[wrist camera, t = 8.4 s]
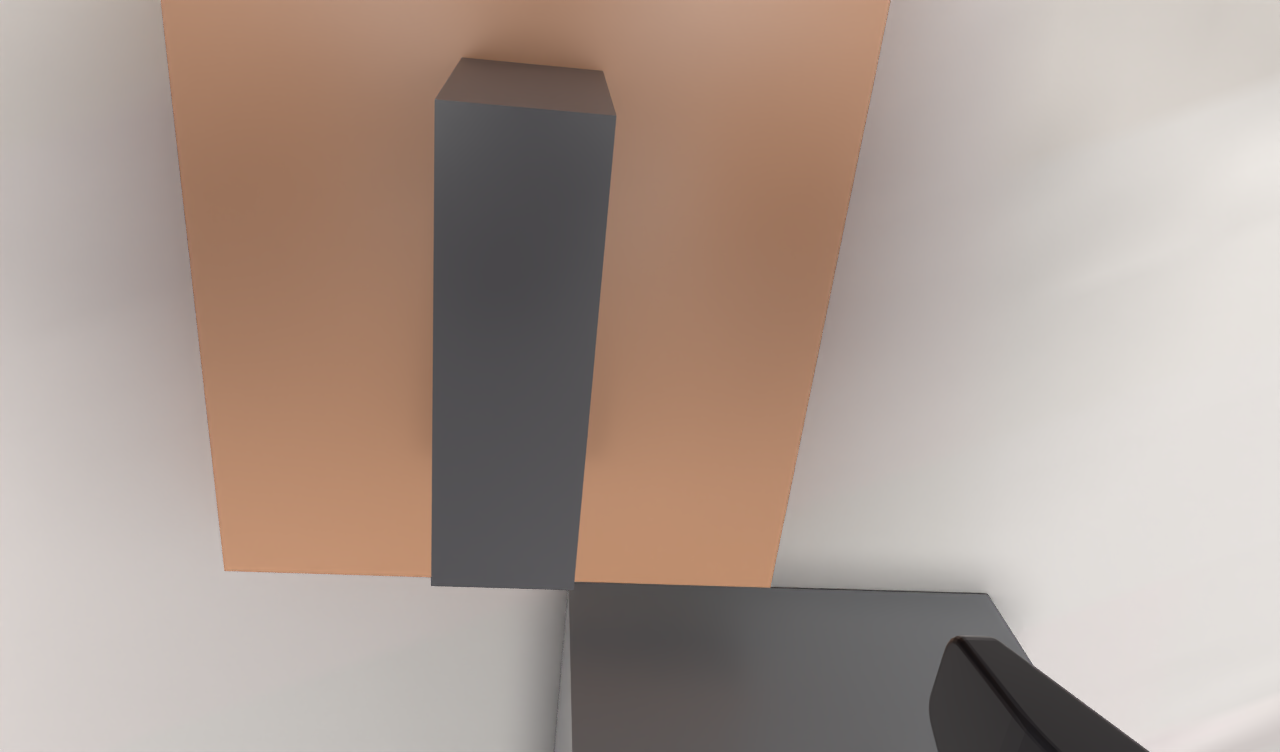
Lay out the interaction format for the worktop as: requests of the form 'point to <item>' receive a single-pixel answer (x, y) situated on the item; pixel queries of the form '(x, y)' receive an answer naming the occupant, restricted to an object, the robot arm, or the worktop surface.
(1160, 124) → the worktop surface
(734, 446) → the lid
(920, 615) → the storage box
